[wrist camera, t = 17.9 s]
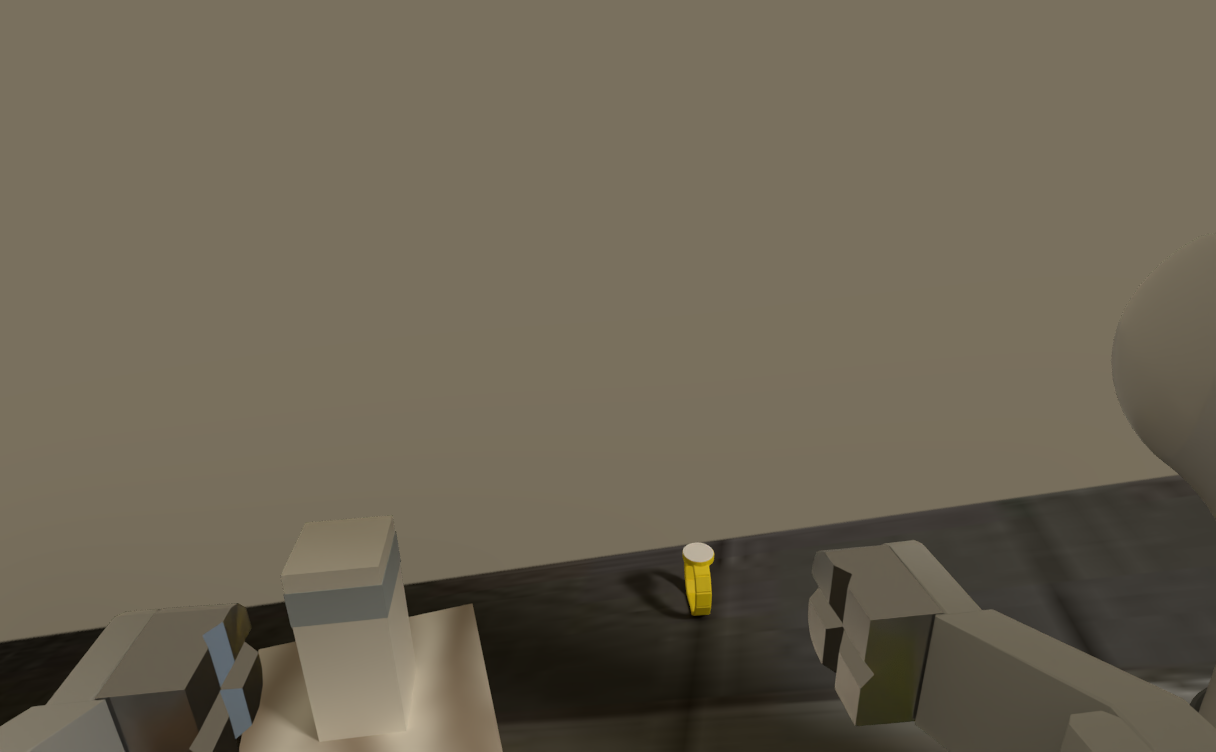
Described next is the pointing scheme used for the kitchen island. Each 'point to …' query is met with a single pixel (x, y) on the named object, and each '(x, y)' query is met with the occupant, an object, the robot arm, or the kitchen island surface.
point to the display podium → (440, 708)
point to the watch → (698, 577)
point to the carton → (351, 626)
